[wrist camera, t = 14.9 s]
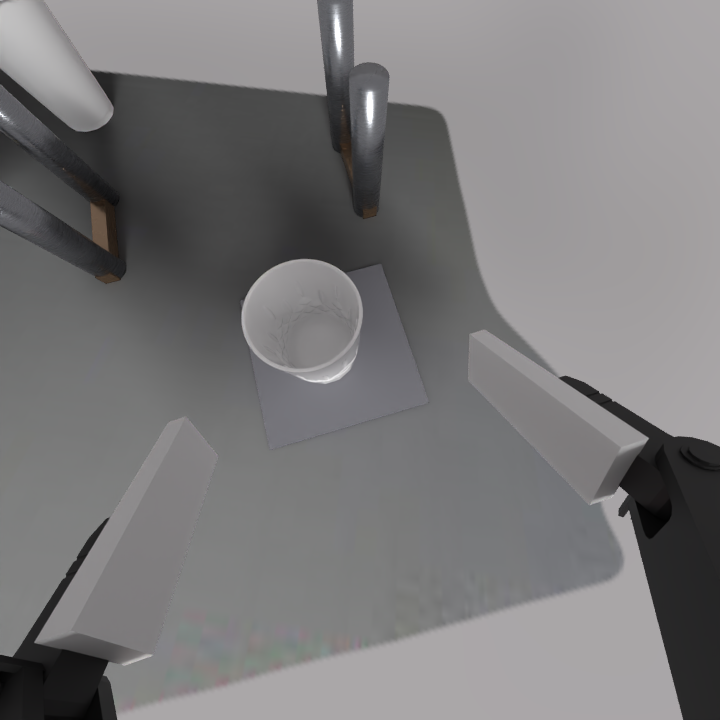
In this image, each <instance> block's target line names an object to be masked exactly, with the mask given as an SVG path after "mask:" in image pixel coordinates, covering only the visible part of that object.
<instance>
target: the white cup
mask: <svg viewBox="0 0 720 720" xmlns="http://www.w3.org/2000/svg"><path fill="white" fill-rule="evenodd" d="M362 319H363V307H362V301H361V297H360V294H359V292H358V290H357V288H356V286H355V285H354V283H353V282H352V280H351V279H350V278H349V277H348V276H347V275H346V274H345V273H344V272H342V271H341V270H340V269H338V268H337V267H335V266H333V265H331V264H329V263H326V262H323V261H319V260H313V259H297V260H291V261H287V262H284V263H281V264H279V265H277V266H275V267H273V268H271V269H270V270H268V271H267V272H265V273H264V274H263V275H262V276H261V277H259V278H258V279H257V281H256V282H255V283H254V284H253V285H252V287H251V288H250V290H249V292H248V294H247V296H246V298H245V301H244V304H243V308H242V315H241V322H242V329H243V333H244V336H245V339H246V341H247V343H248V345H249V347H250V348H251V349H252V351H253V352H254V353H255V354H256V355H257V356H258V357H259V358H260V359H261V360H262V361H264V362H265V363H267V364H268V365H270V366H272V367H274V368H277V369H279V370H281V371H284V372H286V373H288V374H290V375H292V376H295V377H297V378H300V379H302V380H306V381H309V382H313V383H320V384H327V383H331V382H334V381H337V380H340V379H341V378H342V377H343V376H344V375H345V374H346V373H348V372H349V371H350V370H351V368H352V365H353V363H354V360H355V358H356V355H357V351H358V347H359V342H360V334H361V326H362Z"/></svg>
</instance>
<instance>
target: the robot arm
mask: <svg viewBox="0 0 720 720" xmlns="http://www.w3.org/2000/svg"><path fill="white" fill-rule="evenodd" d="M468 381H469V382H470V383H471V384H472V385H473V386H474V387H475V388H476V389H477V390H478V391H479V392H480V393H481V394H482V395H483V396H484V397H485V398H486V399H487V400H488V401H489V402H490V403H491V404H492V405H493V406H494V407H495V408H496V409H497V410H498V411H499V413H500V414H501V415H502V416H503V417H504V418H505V419H506V420H507V421H508V422H509V423H510V424H511V425H512V426H513V427H514V428H515V429H516V430H517V431H518V432H519V433H520V434H521V435H522V436H523V437H524V438H525V439H526V440H527V441H528V442H529V443H530V444H531V445H532V446H533V447H534V449H535V450H536V451H537V452H538V453H539V454H540V455H541V456H542V457H543V458H544V459H545V460H546V461H547V462H548V463H549V464H550V465H551V466H552V467H553V468H554V469H555V470H556V471H557V472H558V473H559V474H560V475H561V476H562V477H563V478H564V479H565V480H566V481H567V482H568V484H569V485H570V486H571V487H572V488H573V489H574V490H575V491H576V492H577V493H578V494H579V495H580V496H581V497H582V498H583V499H584V500H585V501H586V502H587V503H588V504H589V505H591V504H594V503H597V502H600V501H603V500H605V499H609V498H611V497H613V495H614V493H615V492H616V490H617V489H618V487H619V486H620V487H621V488H622V489H623V490H625V491H626V492H627V493H628V494H629V495H628V496H627V498H626V499H625V501H624V502H623V504H622V505H621V507H620V508H619V516H621V517H624V516H625V514H626V513H627V512H628V510H629V511H630V515H631V520H632V523H633V526H634V530H635V534H636V538H637V542H638V546H639V550H640V554H641V558H642V562H643V565H644V569H645V573H646V577H647V581H648V584H649V589H650V593H651V596H652V600H653V604H654V608H655V612H656V616H657V620H658V623H659V627H660V631H661V635H662V639H663V643H664V647H665V650H666V654H667V658H668V662H669V666H670V670H671V674H672V677H673V682H674V685H675V689H676V693H677V697H678V701H679V704H680V709H681V713H682V717H683V720H720V447H719V446H717V445H714V444H712V443H710V442H708V441H704V440H700V439H696V438H692V437H679V436H678V437H673V436H671V435H669V434H667V433H665V432H664V431H662V430H660V429H659V428H657V427H656V426H654V425H652V424H651V423H649V422H648V421H646V420H644V419H643V418H641V417H639V416H638V415H636V414H635V413H633V412H631V411H630V410H628V409H626V408H625V407H623V406H621V405H620V404H618V403H617V402H613V401H612V399H610V398H609V397H607V396H605V395H604V394H600V393H599V391H597V390H596V389H594V388H592V387H591V386H589V385H588V384H586V383H584V382H582V381H579V380H576V379H574V378H571V377H568V376H563V377H560V378H557V377H556V376H554V375H553V374H551V373H550V372H548V371H547V370H545V369H544V368H542V367H541V366H539V365H538V364H536V363H535V362H533V361H532V360H530V359H529V358H527V357H526V356H524V355H523V354H521V353H520V352H518V351H516V350H515V349H513V348H512V347H510V346H509V345H507V344H506V343H504V342H503V341H501V340H500V339H498V338H497V337H495V336H494V335H492V334H491V333H489V332H488V331H486V330H482V331H478V332H475V333H471V334H470V335H469V366H468ZM217 459H218V455H217V453H216V452H215V451H214V450H213V449H212V447H211V446H210V445H209V444H208V442H207V441H206V440H205V439H204V437H203V436H202V435H201V434H200V433H199V431H198V430H197V429H196V428H195V426H194V425H193V424H192V423H191V422H190V420H189V419H188V418H187V417H183V418H180V419H176V420H173V421H169V422H168V424H167V425H166V427H165V429H164V430H163V432H162V433H161V435H160V437H159V438H158V440H157V442H156V443H155V445H154V447H153V448H152V450H151V451H150V453H149V455H148V456H147V458H146V460H145V461H144V463H143V465H142V466H141V468H140V470H139V471H138V473H137V474H136V476H135V478H134V479H133V481H132V483H131V484H130V486H129V488H128V489H127V491H126V493H125V494H124V496H123V497H122V499H121V501H120V502H119V504H118V506H117V507H116V509H115V511H114V512H113V514H112V516H111V517H110V518H107V519H106V520H105V521H104V522H103V523H102V524H101V525H100V526H99V527H98V528H97V530H96V531H95V532H94V533H93V534H92V535H91V536H90V537H89V539H88V540H87V542H86V544H85V545H84V547H83V548H82V550H81V551H80V553H79V555H78V556H77V560H76V561H74V562H73V564H72V566H71V567H70V569H69V570H68V572H67V573H66V578H65V579H63V580H62V581H61V583H60V584H59V586H58V588H57V589H56V591H55V592H54V594H53V595H52V597H51V599H50V600H49V602H48V603H47V605H46V606H45V608H44V610H43V611H42V613H41V614H40V616H39V617H38V619H37V621H36V622H35V624H34V625H33V627H32V628H31V630H30V632H29V633H28V635H27V636H26V638H25V640H24V641H23V643H22V644H21V646H20V647H19V649H18V650H17V652H16V653H15V654H14V656H13V657H8V656H4V655H0V720H117V716H116V711H115V705H114V700H113V695H112V689H111V684H110V682H109V680H108V678H107V676H103V673H104V671H105V669H106V666H107V664H108V662H113V663H117V664H121V665H127V664H130V663H133V662H136V661H139V660H142V659H145V658H147V657H150V656H153V655H154V652H155V649H156V646H157V643H158V640H159V636H160V633H161V630H162V627H163V624H164V621H165V618H166V615H167V612H168V609H169V606H170V603H171V600H172V597H173V594H174V590H175V587H176V584H177V581H178V578H179V575H180V572H181V569H182V566H183V563H184V560H185V557H186V554H187V551H188V548H189V544H190V541H191V538H192V535H193V532H194V529H195V526H196V523H197V520H198V517H199V514H200V511H201V508H202V505H203V502H204V498H205V495H206V492H207V489H208V486H209V483H210V480H211V477H212V474H213V471H214V468H215V465H216V462H217Z"/></svg>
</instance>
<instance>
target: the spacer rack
mask: <svg viewBox="0 0 720 720" xmlns="http://www.w3.org/2000/svg"><path fill="white" fill-rule="evenodd" d="M317 4H318V14H319V23H320V31H321V41H322V51H323V61H324V69H325V80H326V89H327V98H328V108H329V117H330V127H331V136H332V146H333V148H334V150H335V151H337V152H338V153H341V156H342V159H343V161H344V164H345V167H346V170H347V173H348V176H349V179H350V182H351V185H352V188H353V202H354V211H355V213H356V214H357V215H358V216H360V217H363V219H365V218H369V217H373V216H376V213H377V212H378V209H379V197H380V185H381V173H382V161H383V149H384V137H385V124H386V112H387V100H388V87H389V73H388V71H387V70H386V69H385V68H384V67H383V66H381V65H379V64H376V63H362V64H359V65H357V66H355V67H354V35H353V0H317ZM0 131H1V132H2V133H3V134H5V135H6V136H7V137H8V138H10V139H11V140H12V141H13V142H15V143H16V144H17V145H19V146H20V147H21V148H22V149H24V150H25V151H26V152H27V153H29V154H30V155H31V156H32V157H34V158H35V159H36V160H37V161H39V162H40V163H41V164H42V165H44V166H45V167H46V168H47V169H49V170H50V171H51V172H52V173H54V174H55V175H56V176H58V177H59V178H60V179H61V180H63V181H64V182H65V183H66V184H68V185H69V186H70V187H71V188H73V189H74V190H75V191H76V192H78V193H79V194H80V195H81V196H83V197H84V198H85V199H86V200H88V201H89V202H90V204H91V220H92V235H93V241H92V240H90V239H89V238H87V237H86V236H84V235H83V234H81V233H80V232H78V231H76V230H75V229H73V228H72V227H70V226H69V225H67V224H66V223H64V222H63V221H61V220H60V219H58V218H57V217H55V216H54V215H52V214H51V213H49V212H48V211H46V210H45V209H43V208H42V207H40V206H39V205H37V204H35V203H34V202H32V201H31V200H29V199H28V198H26V197H25V196H23V195H22V194H20V193H19V192H17V191H16V190H14V189H13V188H11V187H10V186H8V185H7V184H5V183H4V182H2V181H1V180H0V226H2V227H3V228H5V229H7V230H9V231H11V232H13V233H15V234H17V235H18V236H20V237H22V238H24V239H26V240H28V241H30V242H32V243H33V244H35V245H37V246H39V247H41V248H43V249H45V250H47V251H49V252H50V253H52V254H54V255H56V256H58V257H60V258H62V259H64V260H65V261H67V262H69V263H71V264H73V265H75V266H77V267H79V268H80V269H82V270H84V271H86V272H88V273H90V274H92V275H94V276H95V278H96V279H98V280H100V281H102V282H104V283H106V284H107V283H111V282H115V281H119V280H121V277H122V276H123V275H124V273H125V271H126V265H125V263H124V262H123V261H122V260H121V259H119V256H118V245H117V233H116V222H115V211H114V206H115V205H116V204H117V203H118V201H119V194H118V193H117V192H116V191H115V190H114V189H113V188H112V187H111V186H110V185H109V184H108V183H107V182H105V181H104V180H103V179H102V178H101V177H100V176H99V175H98V174H97V173H96V172H95V171H94V170H92V169H91V168H90V167H89V166H88V165H87V164H86V163H85V162H84V161H83V160H82V159H81V158H79V157H78V156H77V155H76V154H75V153H74V152H73V151H72V150H71V149H70V148H69V147H68V146H66V145H65V144H64V143H63V142H62V141H61V140H60V139H59V138H58V137H57V136H56V135H55V134H54V133H52V132H51V131H50V130H49V129H48V128H47V127H46V126H45V125H44V124H43V123H42V122H41V121H39V120H38V119H37V118H36V117H35V116H34V115H33V114H32V113H31V112H30V111H29V110H28V109H26V108H25V107H24V106H23V105H22V104H21V103H20V102H19V101H18V100H17V99H16V98H15V97H13V96H12V95H11V94H10V93H9V92H8V91H7V90H6V89H5V88H4V87H3V86H2V85H1V84H0Z"/></svg>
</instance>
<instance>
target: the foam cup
mask: <svg viewBox="0 0 720 720" xmlns="http://www.w3.org/2000/svg"><path fill="white" fill-rule="evenodd" d="M0 69H1V70H3V71H4V72H5V73H6V74H7V75H8V76H10V77H11V78H12V79H13V80H14V81H16V82H17V83H18V84H19V85H20V86H21V87H23V88H24V89H25V90H26V91H27V92H29V93H30V94H31V95H32V96H33V97H34V98H36V99H37V100H38V101H39V102H40V103H42V104H43V105H44V106H45V107H46V108H47V109H49V110H50V111H51V112H52V113H53V114H54V115H56V116H57V117H58V118H59V119H60V120H62V121H63V122H65V123H66V124H67V125H68V126H69V127H71V128H72V129H74V130H76V131H83V132H88V131H92V130H96V129H99V128H100V127H102V126H103V125H105V124H107V122H108V121H109V120H110V118H111V117H112V116H113V109H114V107H113V105H112V103H111V102H110V100H109V99H108V97H107V95H106V94H105V92H104V91H103V89H102V88H101V86H100V85H99V83H98V82H97V80H96V79H95V77H94V76H93V74H92V73H91V71H90V70H89V68H88V67H87V65H86V64H85V62H84V61H83V59H82V58H81V56H80V55H79V53H78V52H77V50H76V49H75V47H74V46H73V44H72V43H71V41H70V39H69V38H68V36H67V35H66V34H65V32H64V30H63V29H62V28H61V26H60V25H59V23H58V22H57V20H56V18H55V17H54V15H53V14H52V12H51V11H50V9H49V8H48V6H47V5H46V3H45V2H44V0H0Z"/></svg>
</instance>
